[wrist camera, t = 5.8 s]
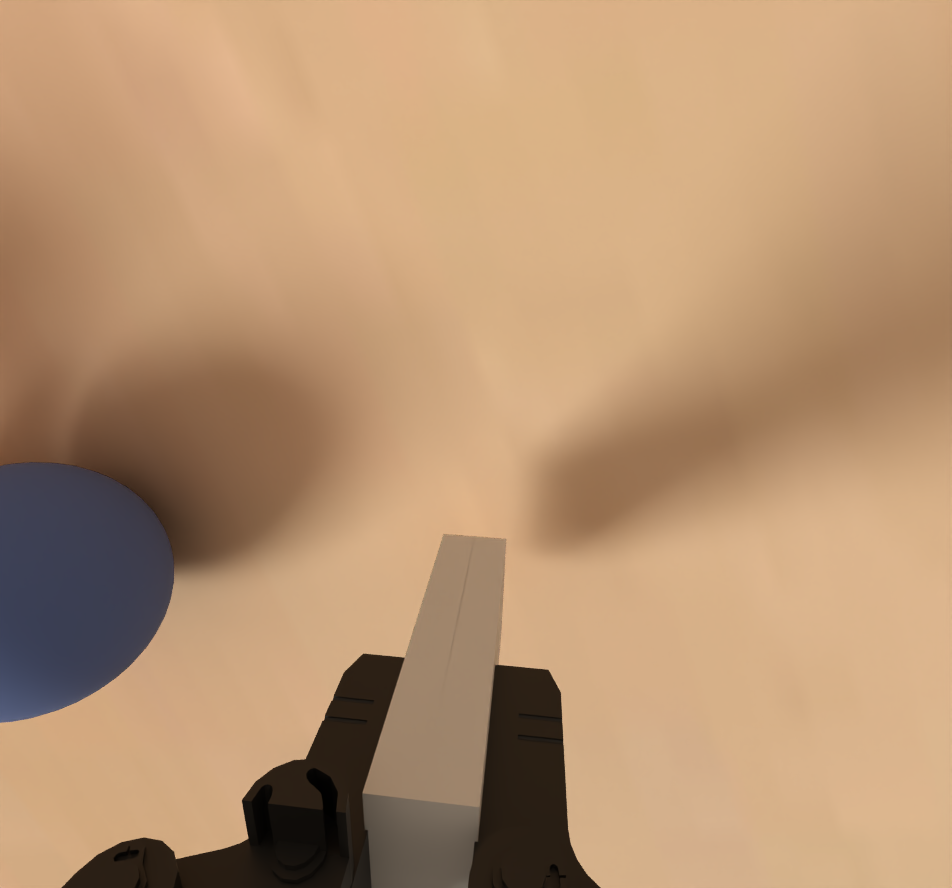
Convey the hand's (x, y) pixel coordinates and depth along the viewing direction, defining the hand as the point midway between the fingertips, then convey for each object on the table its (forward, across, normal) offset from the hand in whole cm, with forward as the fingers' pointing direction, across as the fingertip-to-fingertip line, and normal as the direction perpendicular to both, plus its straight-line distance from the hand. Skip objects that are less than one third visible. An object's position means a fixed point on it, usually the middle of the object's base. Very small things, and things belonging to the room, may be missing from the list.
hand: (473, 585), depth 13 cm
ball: (-1, +11, 0) cm, 11 cm away
